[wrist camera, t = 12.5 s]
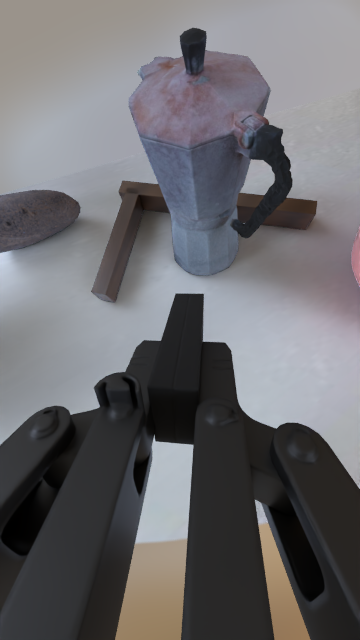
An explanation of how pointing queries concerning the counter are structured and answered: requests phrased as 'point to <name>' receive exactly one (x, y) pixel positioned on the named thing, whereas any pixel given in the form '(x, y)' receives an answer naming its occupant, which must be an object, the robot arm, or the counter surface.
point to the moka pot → (207, 147)
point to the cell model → (356, 257)
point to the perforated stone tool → (34, 217)
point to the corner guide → (152, 199)
